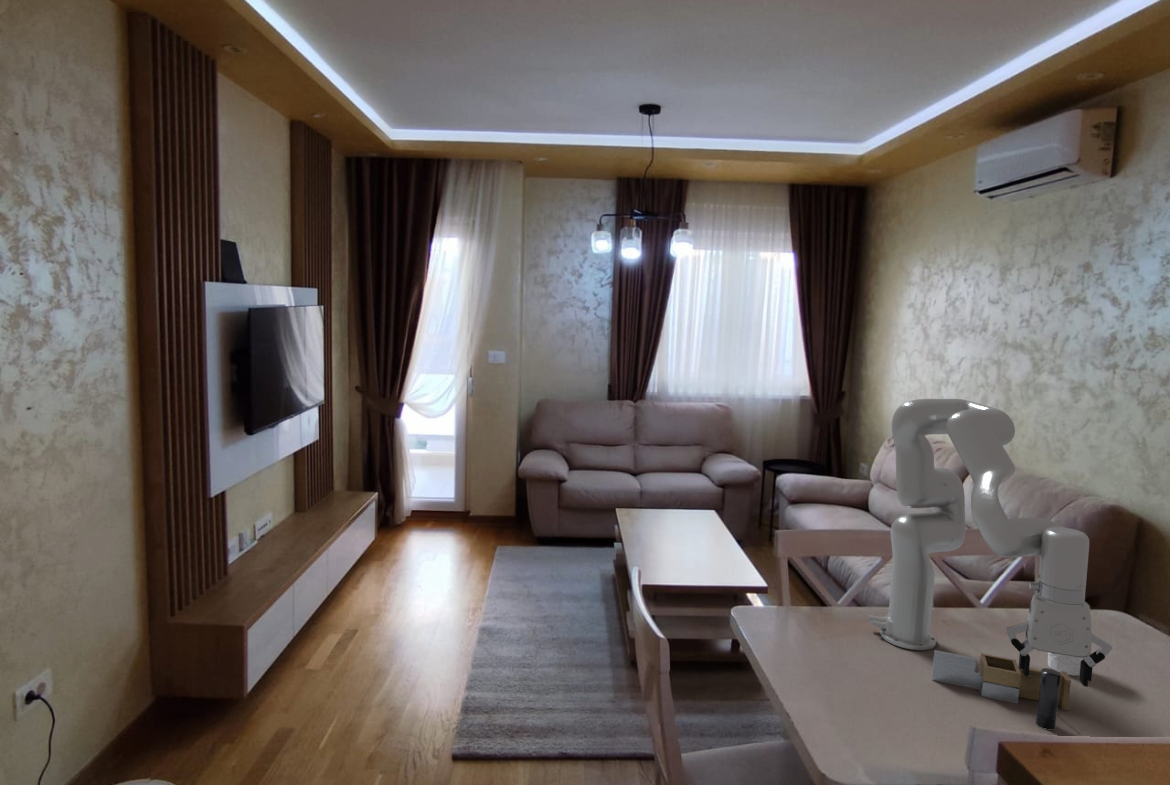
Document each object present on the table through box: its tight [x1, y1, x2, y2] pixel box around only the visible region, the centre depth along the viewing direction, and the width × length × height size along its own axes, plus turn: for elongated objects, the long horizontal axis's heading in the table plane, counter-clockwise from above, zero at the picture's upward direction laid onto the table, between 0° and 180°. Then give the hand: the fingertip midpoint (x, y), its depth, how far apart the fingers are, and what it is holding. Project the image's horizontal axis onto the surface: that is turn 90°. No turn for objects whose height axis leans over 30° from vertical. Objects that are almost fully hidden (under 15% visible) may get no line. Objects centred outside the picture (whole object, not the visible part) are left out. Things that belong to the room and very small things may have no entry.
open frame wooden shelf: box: [979, 653, 1072, 711], centre depth 149 cm, size 16×7×6 cm, turn 67°
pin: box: [1035, 667, 1061, 730], centre depth 139 cm, size 3×3×11 cm
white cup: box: [1047, 652, 1083, 676], centre depth 162 cm, size 8×8×10 cm
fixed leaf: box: [931, 649, 1020, 704], centre depth 152 cm, size 16×7×6 cm, turn 67°
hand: (1053, 678), depth 137 cm, fingers open, 9 cm apart
